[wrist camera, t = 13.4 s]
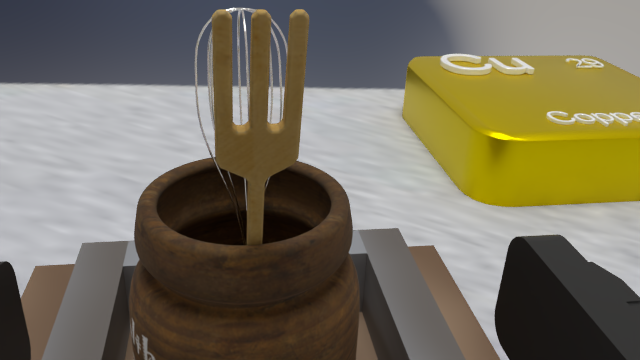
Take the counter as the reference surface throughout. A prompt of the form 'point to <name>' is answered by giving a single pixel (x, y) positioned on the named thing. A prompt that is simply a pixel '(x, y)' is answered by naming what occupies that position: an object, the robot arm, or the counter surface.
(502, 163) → the element tile
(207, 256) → the utensil holder
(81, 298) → the socket base
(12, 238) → the counter surface
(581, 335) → the robot arm
